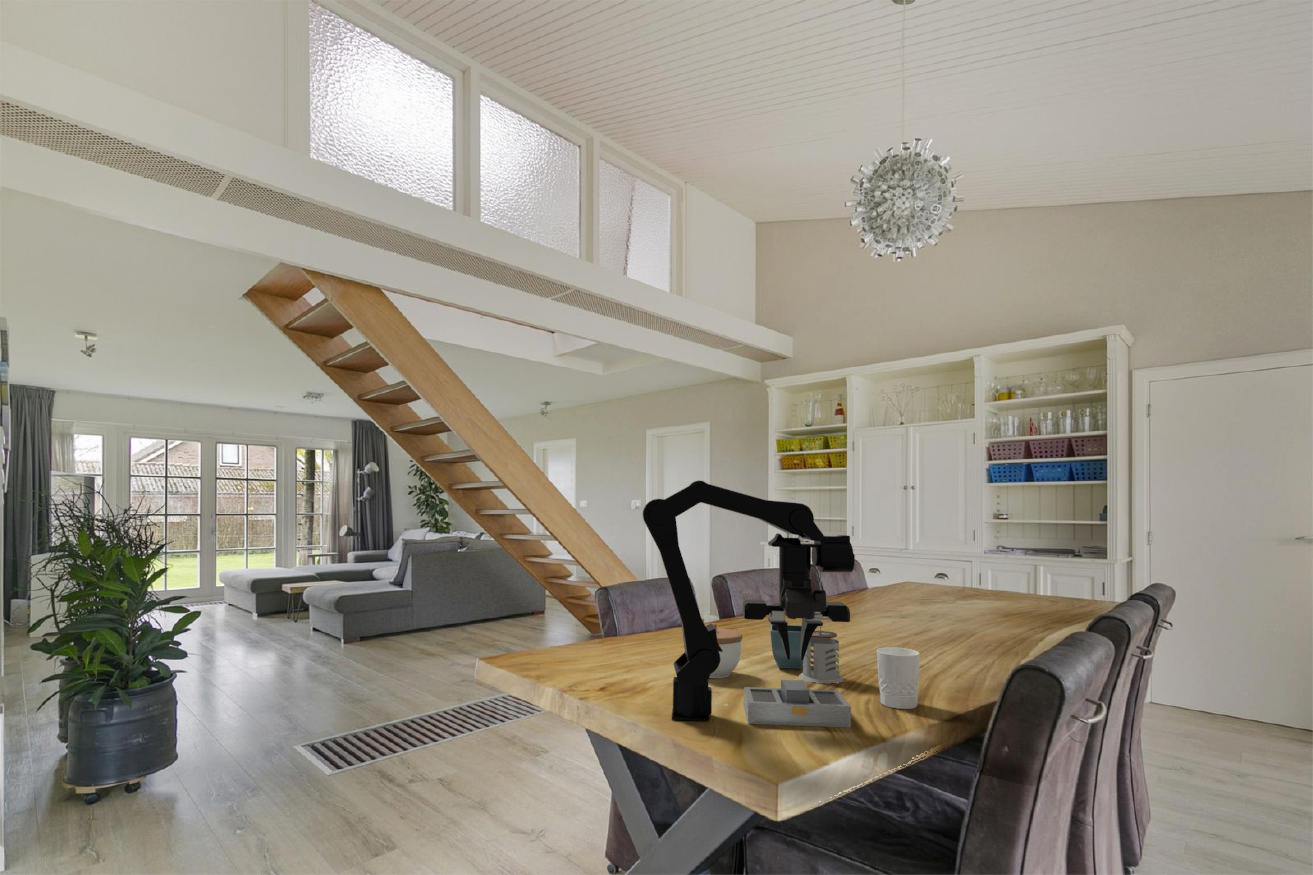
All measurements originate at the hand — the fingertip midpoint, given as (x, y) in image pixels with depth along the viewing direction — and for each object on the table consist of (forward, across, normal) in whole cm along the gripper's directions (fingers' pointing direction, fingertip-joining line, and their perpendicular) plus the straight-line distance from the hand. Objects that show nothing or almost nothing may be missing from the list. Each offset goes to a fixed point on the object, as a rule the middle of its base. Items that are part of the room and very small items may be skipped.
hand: (795, 659), depth 125 cm
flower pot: (+10, +4, +39) cm, 41 cm away
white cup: (+10, +21, +10) cm, 26 cm away
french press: (+10, +9, +28) cm, 31 cm away
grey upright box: (+9, 0, 0) cm, 9 cm away
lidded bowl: (+10, -14, +29) cm, 34 cm away
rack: (+10, 0, 0) cm, 10 cm away
